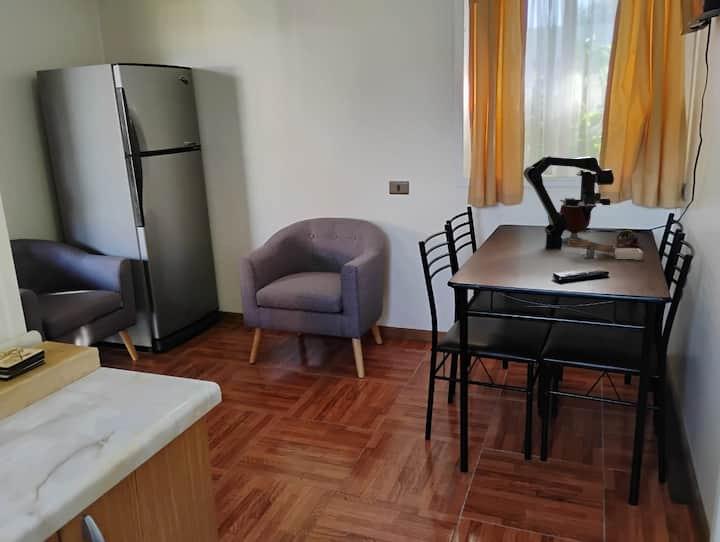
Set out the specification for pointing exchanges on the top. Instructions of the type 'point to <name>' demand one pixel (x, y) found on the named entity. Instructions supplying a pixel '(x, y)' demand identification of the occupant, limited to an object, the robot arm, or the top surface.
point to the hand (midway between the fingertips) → (585, 220)
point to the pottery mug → (627, 238)
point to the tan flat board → (591, 245)
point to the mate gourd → (574, 221)
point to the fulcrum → (590, 254)
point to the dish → (628, 254)
